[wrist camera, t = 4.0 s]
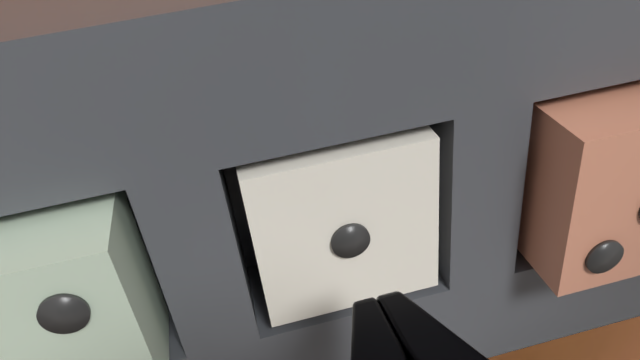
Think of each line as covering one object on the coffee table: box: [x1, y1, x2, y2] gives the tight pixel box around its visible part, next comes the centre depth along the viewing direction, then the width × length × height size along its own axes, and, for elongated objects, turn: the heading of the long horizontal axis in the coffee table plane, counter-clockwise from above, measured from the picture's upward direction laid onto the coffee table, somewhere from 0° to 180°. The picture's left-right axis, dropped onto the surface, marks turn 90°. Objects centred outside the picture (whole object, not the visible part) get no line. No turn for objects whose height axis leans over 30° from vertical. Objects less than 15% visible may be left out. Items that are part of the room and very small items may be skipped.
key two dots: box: [0, 190, 169, 360], centre depth 11 cm, size 4×4×2 cm
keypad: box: [0, 0, 640, 360], centre depth 13 cm, size 19×10×3 cm, turn 96°
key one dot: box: [236, 125, 440, 327], centre depth 12 cm, size 4×4×2 cm
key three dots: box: [517, 80, 640, 297], centre depth 12 cm, size 4×4×2 cm
